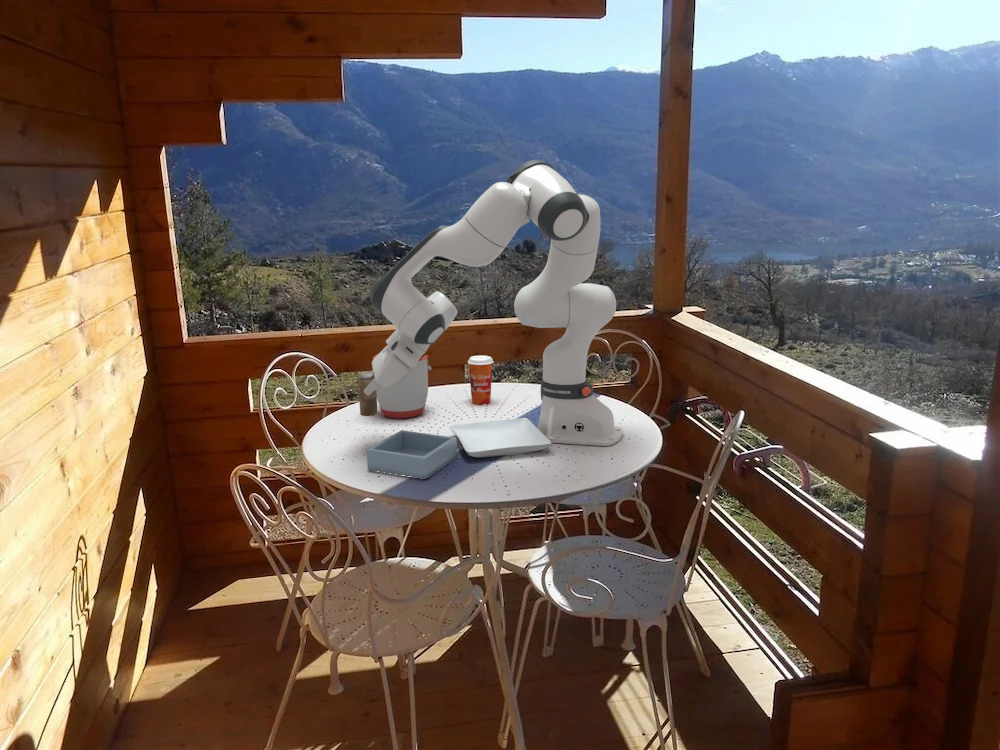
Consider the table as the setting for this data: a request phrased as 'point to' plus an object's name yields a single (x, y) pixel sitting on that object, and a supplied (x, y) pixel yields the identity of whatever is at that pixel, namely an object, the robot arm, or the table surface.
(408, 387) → the citrus juicer
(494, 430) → the salad plate
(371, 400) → the walnut pepper mill
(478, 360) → the paper cup
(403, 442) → the slate blue bin
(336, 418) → the table surface
